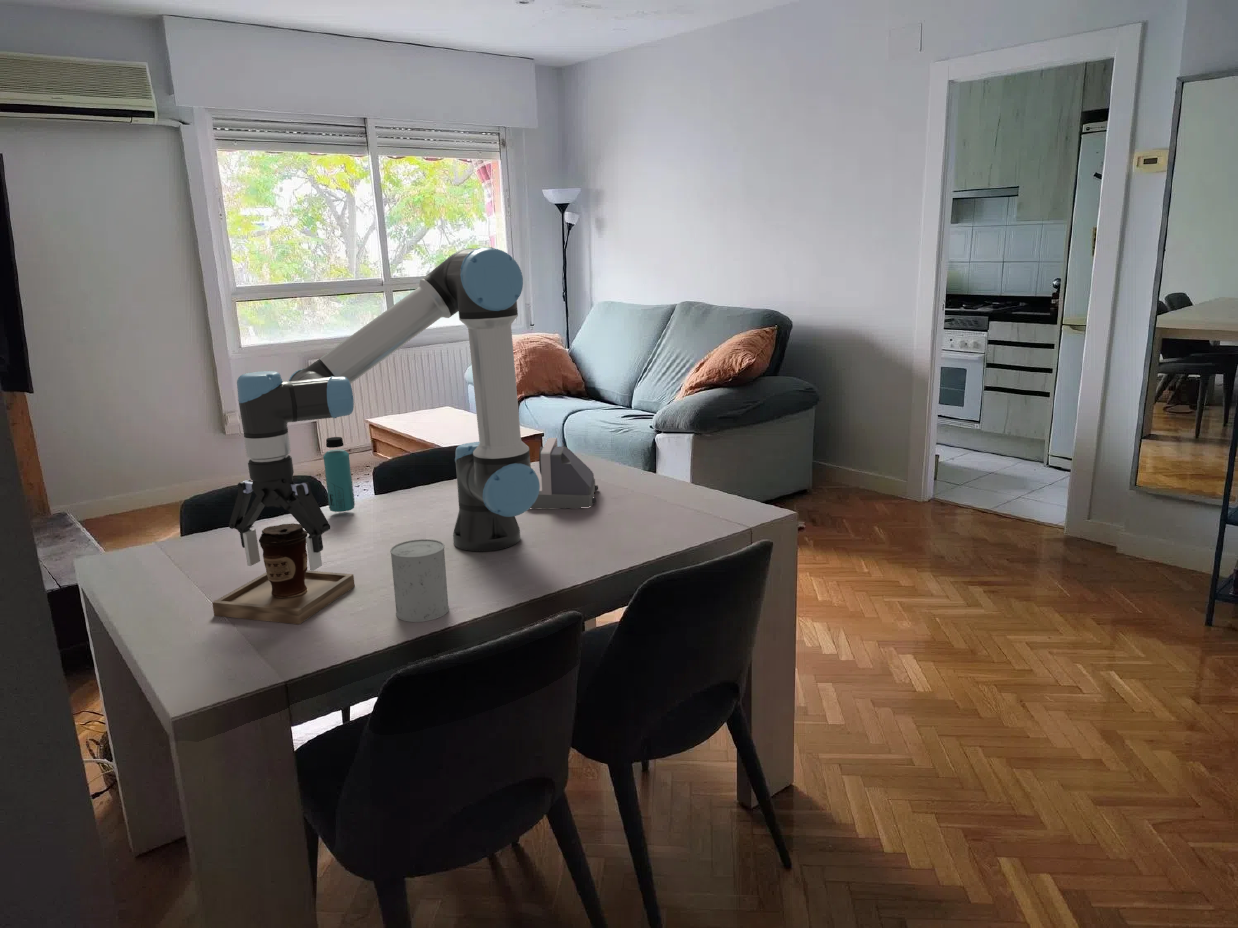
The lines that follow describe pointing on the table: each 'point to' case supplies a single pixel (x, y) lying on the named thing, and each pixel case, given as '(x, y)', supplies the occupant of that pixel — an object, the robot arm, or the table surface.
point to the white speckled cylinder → (419, 580)
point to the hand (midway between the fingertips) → (284, 565)
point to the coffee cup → (285, 559)
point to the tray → (263, 606)
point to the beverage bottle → (338, 477)
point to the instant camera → (563, 479)
